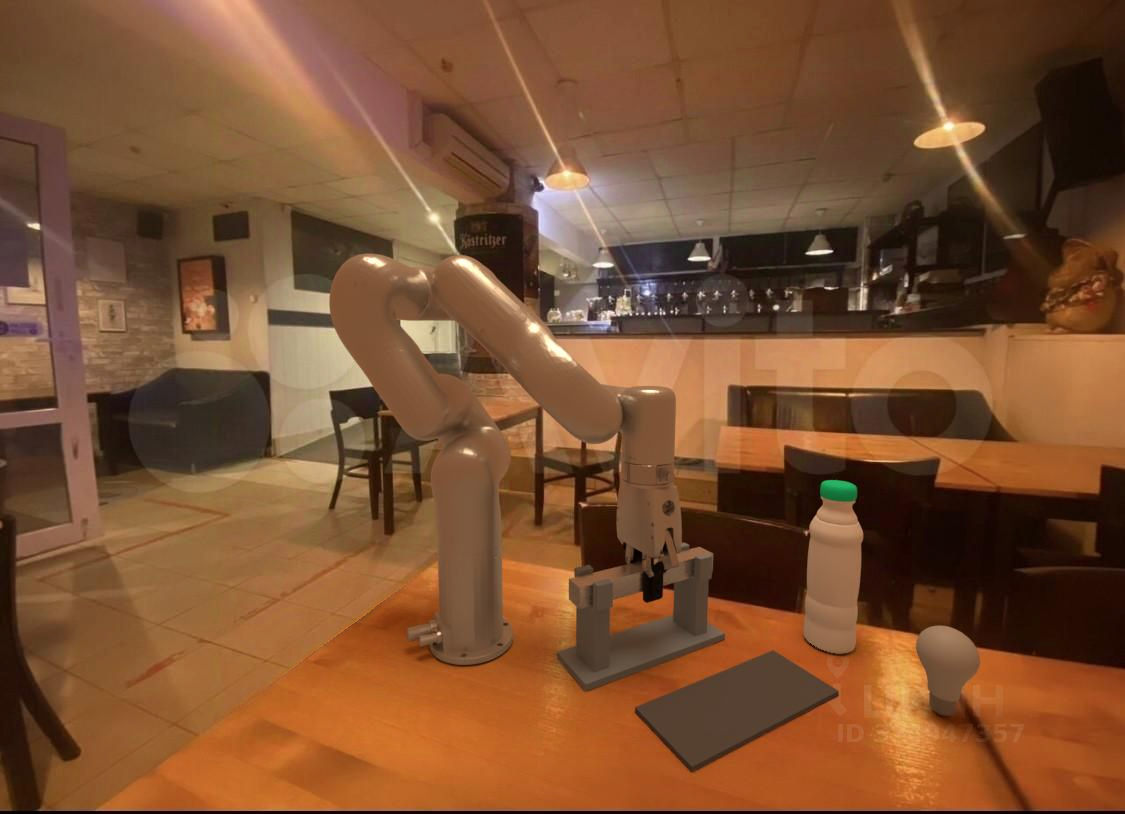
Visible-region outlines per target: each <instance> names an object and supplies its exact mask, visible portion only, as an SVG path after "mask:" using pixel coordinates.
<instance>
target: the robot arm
mask: <svg viewBox="0 0 1125 814" xmlns="http://www.w3.org/2000/svg"><path fill="white" fill-rule="evenodd" d="M328 299H329V302H328V303H329V304H328V305H329V313H330V319H331V322H332V324H333V328H334V330H335V332H336V334H337V336H338V338H339V340H340V342H341V343H342V344H343V346H344V347H345V349H346V351H347V352H348V353H349V355H350V356H351V358H352V359H353V360H354V362H355V363H356V364H357V365H358V366H359V368H360V369H361V371H362V372H363V374H364V375H365V377H366V378H367V379H368V381H369V383H370V384H371V386H372V387H373V389H374V390H375V392H376V393H377V394H378V396H379V398H380V399H381V400H382V401H383V403H384V405H385V406H386V408H387V409H388V410H389V412H390V413H391V415H392V416H393V417H394V419H395V420H396V422H397V423H398V425H399V426H400V427H401V429H402V430H403V431H404V432H405V433H406V434H407V435H408V436H409V437H411V438H413V439H415V440H418V441H423V442H424V441H425V442H426V441H432V440H436V439H437V440H438V441H439V443H440V444H441V445H442V448H441V449H440V451H439V452H438V453H437V455H436V457H435V459H434V460H433V463H432V466H431V471H430V472H431V473H430V486H431V493H432V500H433V502H434V503H433V504H434V511H435V523H436V543H437V544H436V546H437V547H436V548H437V571H438V573H437V577H438V581H437V582H438V583H437V584H438V607H439V608H438V611H434V612H433V619H431V620H430V619H429V620H428V621H427V623H425V624H418V625H414V626H413V625H412V626H410V627H407V628H406V638H407V641H408V642H409V643H410V642H414V641H417V640H418V641H419V646H420V647H421V648H422V647H425V646H428V645H429V650H430V652H431V653H432V655H433V656H434V657H435V658H436V659H439V660H440V661H442V662H444V663H446V664H447V663H448V664H450V665H451V664H452V665H457V666H458V665H459V666H471V665H479V664H483V663H486V662H489V661H492V660H494V659H496V658H498V657H499V656H501V655H502V654H504V653H505V652H506V651H507V650H508V649H509V648H511V645H512V643H513V640H514V629H513V626H512V624H511V623H510V622H509V621H508V620H507V619H506V618H505V617H504V614H503V613H504V612H503V611H504V605H503V603H504V601H503V598H504V597H503V596H504V595H503V593H504V592H503V539H502V537H503V536H502V534H503V532H502V530H503V529H502V512H501V504H500V482H501V481H502V480H503V478H504V477H505V475H506V474H507V473H508V470H509V469H510V468H509V467H510V465H511V461H512V452H511V448H510V445H509V442H508V441H507V439H506V437H505V436H504V434H503V432H502V431H501V430H500V428H499V426H497V424H496V422H495V421H494V419H493V418H492V417H491V415H490V414H489V412H488V411H487V409H486V408H485V407H484V406H483V404H482V402H481V401H480V399H479V398H478V397H477V395H476V394H475V392H474V391H473V390H472V389H471V387H470V386H469V385H467V384H466V383H465V382H464V381H463V380H461V379H460V378H458V377H456V376H454V375H452V374H448V373H447V374H446V373H438V371H436V370H435V368H434V367H433V366H432V364H431V363H430V361H429V360H428V359H427V358H426V356H425V355H424V353H423V352H422V350H421V348H420V347H419V345H418V344H417V342H416V341H415V340H414V339H413V338H412V336H411V335H409V333H407V331H406V330H405V329H404V328H403V327H402V326H401V324H400V323H399V321H398V320H400V321H407V322H408V321H410V322H411V321H414V322H415V321H417V322H419V321H421V322H422V321H425V322H426V321H439V322H440V321H442V322H443V321H447V322H448V321H450V322H451V321H452V322H453V321H455V322H456V323H457V324H458V326H460V327H461V328H462V329H463V330H464V331H465V332H466V333H468V335H470V336H471V337H472V338H473V339H474V340H475V341H476V342H477V343H478V344H479V345H481V346H482V347H483V349H485V350H486V352H488V353H489V354H490V355H491V356H492V357H493V358H494V359H496V361H497V362H498V363H499V364H500V365H501V366H502V367H503V368H504V369H505V371H506V372H507V373H508V374H509V376H511V378H513V379H514V380H515V381H516V382H517V383H518V384H519V385H520V386H521V387H522V389H523V390H524V391H525V392H526V393H527V394H528V395H529V396H530V397H531V398H532V399H533V400H534V402H536V403H537V405H538V406H539V407H540V408H542V409H543V410H544V411H545V413H547V414H548V415H549V416H550V417H551V418H552V419H554V421H556V422H557V423H558V424H559V425H560V426H561V427H562V428H563V429H564V430H565V431H566V432H567V433H568V434H570V435H571V436H572V437H574V438H575V439H576V440H578V441H579V442H582V443H585V444H589V445H600V444H603V443H606V442H608V441H610V440H612V439H613V438H615V436H616V435H617V434H618V432H620V435H621V446H620V447H621V449H620V451H621V452H620V453H621V457H620V458H621V459H620V482H619V487H618V488H619V489H618V494H617V504H616V505H617V506H616V536H617V539H618V540H619V542H620V544H621V545H622V548H623V551H624V553H625V562H626V565H627V564H631V563H635V562H639V561H643V560H646V575H643V592H642V600H643V602H644V603H646V604H648V603H652V602H654V601H658V600H661V599H663V596H664V586H663V574H665V573H666V572H667V570H668V569H671V568H675V567H678V566H679V561H678V557H677V553H680V552H681V547H682V543H683V541H682V539H683V538H682V536H683V530H682V529H683V528H682V525H683V524H682V512H681V503H680V502H681V501H680V495H679V490H678V486H677V485H675V479H676V474H675V454H676V450H675V449H676V446H675V445H676V418H677V417H676V414H677V413H676V412H677V411H676V410H677V398H676V394H675V392H674V390H673V389H672V388H670V387H666V386H661V385H660V386H659V385H637V386H631V387H628V386H627V387H625V386H616V385H609V384H602V383H601V382H600V381H598V380H597V379H596V378H595V377H594V376H593V375H592V374H591V373H589V371H588V370H587V369H585V367H583V366H582V365H581V364H580V363H579V362H578V361H577V360H576V359H575V358H574V357H573V356H572V355H571V354H570V353H569V352H568V351H567V350H566V349H565V348H564V347H563V346H562V344H561V343H560V341H558V339H556V337H555V335H554V333H553V332H552V331H551V329H550V328H549V327H548V325H547V324H546V323H545V322H544V321H543V319H541V318H540V317H539V316H538V315H537V314H536V313H535V312H533V310H531V308H529V306H527V305H526V304H525V303H524V302H522V300H521V299H520V298H519V297H517V296H516V295H515V294H514V293H513V292H512V291H511V290H510V289H509V288H508V287H507V286H506V285H505V284H504V283H502V282H501V281H500V280H499V279H498V278H497V276H496V275H495V274H494V272H493V271H491V270H490V269H489V267H487V266H485V265H484V264H483V263H481V262H480V261H478V260H477V259H476V258H474V257H471V256H468V255H464V254H456V255H451V256H449V257H447V258H445V259H443V260H442V261H440V263H439V264H437V265H436V266H435V267H420V266H419V267H415V266H414V267H413V266H409V265H407V264H405V263H403V262H402V261H398V260H397V259H394V258H392V257H389V256H387V255H383V254H377V253H361V254H360V253H359V254H357V255H354V256H352V257H350V258H348V259H347V260H345V262H344V263H342V264H341V265H340V267H339V268H338V270H337V271H336V274H335V275H334V278H333V280H332V282H331V287H330V291H329V298H328ZM657 558H658V562H657V563H656V564H655V565H654V559H657Z"/></svg>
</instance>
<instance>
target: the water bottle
mask: <svg viewBox="0 0 1125 814" xmlns="http://www.w3.org/2000/svg"><path fill="white" fill-rule="evenodd" d="M819 488H820V489H819V494H820V499H821V500H822V505H821V506H820V508H818V510H817V511H816V514H815V516H814V517H813V519H812V520H811V521H810V524H809V527H808V528H809V529H808V530H809V534H810V538H809V542H808V544H809V545H808V551H807V567H806V589H807V592H806V594H805V598H804V599H805V600H804V610H805V615H804V620H803V628H802V631H803V636H804V638H805V639H806V641H807V642H808V643H809V644H810V643H811V644H812V645H811V644H810V645H811V646H813V645H814V646H815V647H814V646H813V647H814V648H816V647H817V648H816V649H818V648H819V649H818V650H820V649H821V650H820V651H822V650H824V651H823V652H825V651H827V652H826V653H829V652H830V653H829V654H833V653H835V655H845V654H848V653H852V652H853V651H854V650H855V648H856V644H857V643H856V642H857V628H856V625H857V622H858V614H859V613H858V611H859V608H858V598H859V593H860V591H859V590H860V583H861V571H862V543H863V541H864V532H863V529H862V526H861V524H860V522H859V520H858V516H857V514H856V513H855V511H854V509H853V505H854V504H855V503H856V500H857V497H858V487H857V486H856V485H855V484H853V483H851V482H849V481H845V480H838V479H835V480H834V479H831V480H830V479H828V480H824V481H822V482H821V484H820V487H819ZM844 653H845V654H844Z"/></svg>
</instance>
